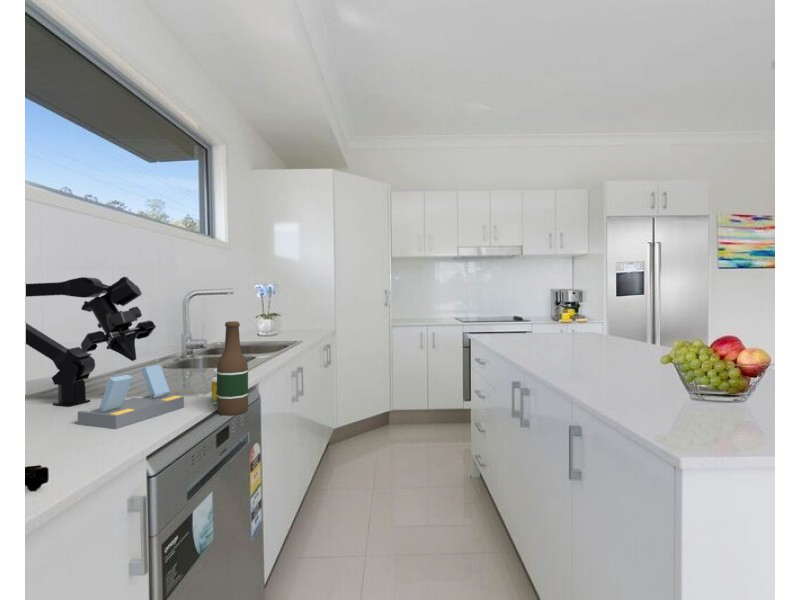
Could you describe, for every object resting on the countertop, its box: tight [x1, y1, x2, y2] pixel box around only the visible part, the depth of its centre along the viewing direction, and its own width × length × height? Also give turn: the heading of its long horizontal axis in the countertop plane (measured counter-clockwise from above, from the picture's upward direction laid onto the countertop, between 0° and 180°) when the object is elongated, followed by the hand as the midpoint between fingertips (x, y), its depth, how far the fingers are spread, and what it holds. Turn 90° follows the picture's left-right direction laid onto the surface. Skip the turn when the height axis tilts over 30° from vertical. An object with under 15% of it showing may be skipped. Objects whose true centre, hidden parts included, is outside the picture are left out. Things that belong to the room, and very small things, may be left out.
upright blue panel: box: [99, 374, 134, 412], centre depth 111 cm, size 2×5×9 cm, turn 162°
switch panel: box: [77, 393, 185, 430], centre depth 119 cm, size 12×21×3 cm, turn 162°
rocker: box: [140, 364, 171, 398], centre depth 126 cm, size 2×5×9 cm, turn 162°
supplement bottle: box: [211, 368, 217, 406], centre depth 133 cm, size 5×5×10 cm
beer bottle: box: [216, 320, 249, 417], centre depth 122 cm, size 8×8×24 cm
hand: (134, 359), depth 130 cm, fingers closed
